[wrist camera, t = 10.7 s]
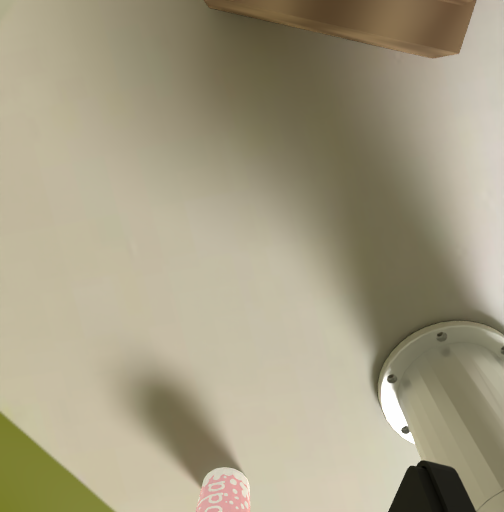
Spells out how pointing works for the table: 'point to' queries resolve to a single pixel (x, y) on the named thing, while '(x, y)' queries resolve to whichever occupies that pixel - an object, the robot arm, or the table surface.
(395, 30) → the display stand
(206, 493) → the beverage cup
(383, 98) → the table surface
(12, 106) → the table surface
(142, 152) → the table surface
